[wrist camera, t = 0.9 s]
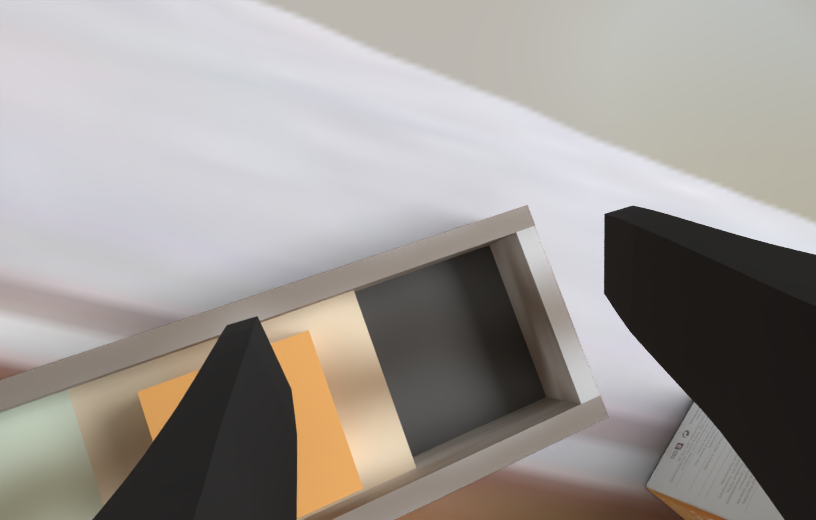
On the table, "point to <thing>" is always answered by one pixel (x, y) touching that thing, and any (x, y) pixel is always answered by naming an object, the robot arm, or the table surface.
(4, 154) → the table surface
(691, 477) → the small box
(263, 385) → the robot arm
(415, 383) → the trap lane
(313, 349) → the orange block
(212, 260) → the table surface
